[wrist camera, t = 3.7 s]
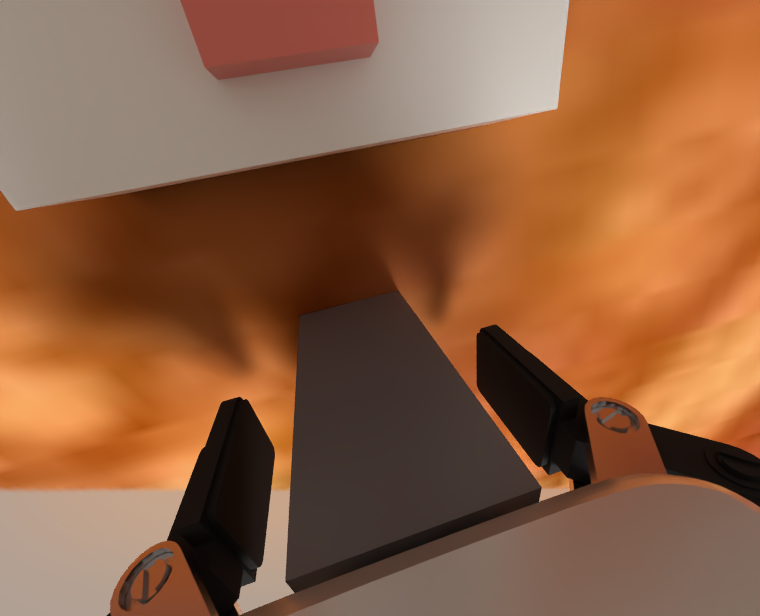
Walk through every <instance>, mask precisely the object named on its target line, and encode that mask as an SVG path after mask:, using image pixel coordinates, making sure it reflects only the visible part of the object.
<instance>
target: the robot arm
mask: <svg viewBox="0 0 760 616" xmlns="http://www.w3.org/2000/svg"><path fill="white" fill-rule="evenodd" d="M477 387H478V389H479V391H480V393H481V394H482V395H483V397H484V398H485V399H486V400H487V402H488V403H489V404H490V406H491V407H492V408H493V410H494V411H495V412H496V414H497V415H498V416H499V418H500V419H501V420H502V421H503V423H504V424H505V425H506V427H507V428H508V429H509V431H510V432H511V433H512V435H513V436H514V437H515V439H516V440H517V441H518V442H519V444H520V445H521V446H522V448H523V449H524V450H525V452H526V453H527V454H528V456H529V457H530V458H531V460H532V461H533V462H534V463H535V465H537V466H538V467H541V466H542V467H543V469H544V470H545V471H546V473H547V474H548V475H551V474H554V473H556V472H559V471H562V472H563V473H564V475H565V476H566V477H567V478H569V485H570V491H569V492H566V493H564V494H561V495H558V496H555V497H552V498H549V499H546V500H543V501H540V502H538V503H535V504H532V505H530V506H527V507H524V508H521V509H519V510H516V511H513V512H510V513H508V514H505V515H502V516H500V517H497V518H494V519H491V520H489V521H486V522H483V523H480V524H478V525H475V526H472V527H470V528H467V529H464V530H461V531H459V532H456V533H453V534H451V535H448V536H445V537H443V538H440V539H437V540H435V541H432V542H429V543H427V544H424V545H421V546H418V547H416V548H413V549H410V550H408V551H405V552H402V553H400V554H397V555H394V556H392V557H389V558H386V559H384V560H381V561H378V562H376V563H373V564H370V565H368V566H365V567H362V568H360V569H357V570H355V571H352V572H349V573H347V574H344V575H341V576H339V577H336V578H333V579H331V580H328V581H326V582H323V583H320V584H318V585H315V586H312V587H310V588H307V589H304V590H302V591H299V592H297V593H294V594H291V595H289V596H286V597H284V598H281V599H279V600H276V601H274V602H271V603H269V604H266V605H264V606H261V607H259V608H256V609H254V610H252V611H249V612H246V613H244V614H243V613H242V611H241V609H240V607H239V605H238V603H237V602H236V601H237V599H238V598H239V594H240V588H241V587H242V586H244V585H247V584H250V583H253V582H255V580H256V571H257V568H258V567H260V566H261V565H262V562H263V556H264V547H265V538H266V529H267V521H268V512H269V502H270V494H271V485H272V476H273V467H274V459H275V451H274V447H273V445H272V443H271V441H270V439H269V437H268V436H267V434H266V432H265V430H264V428H263V427H262V425H261V423H260V421H259V419H258V417H257V416H256V414H255V412H254V410H253V408H252V407H251V405H250V403H249V401H248V400H247V399H245V400H243V399H242V398H241V397H237V398H234V399H230V400H227V401H223V402H222V403H221V405H220V407H219V410H218V413H217V415H216V418H215V421H214V424H213V426H212V429H211V432H210V435H209V437H208V440H207V443H206V446H205V447H204V448H203V449H202V450H201V452H200V454H199V456H198V459H197V462H196V464H195V467H194V470H193V472H192V475H191V478H190V480H189V483H188V486H187V488H186V491H185V494H184V496H183V499H182V502H181V505H180V507H179V510H178V513H177V515H176V518H175V520H174V523H173V526H172V528H171V531H170V534H169V536H168V539H167V541H165V542H160V543H158V544H156V545H154V546H152V547H150V548H149V549H148V550H146V551H145V552H144V553H142V554H141V555H140V556H139V557H138V558H137V559H136V560H135V561H134V562H133V563H132V564H131V565H130V566H129V567H128V569H127V570H126V571H125V573H124V574H123V575H122V577H121V578H120V580H119V582H118V584H117V586H116V588H115V589H114V592H113V596H112V599H111V603H110V613H109V614H108V615H107V616H760V459H759V458H757V457H756V456H754V455H752V454H750V453H748V452H746V451H744V450H742V449H740V448H737V447H734V446H731V445H728V444H724V443H721V442H717V441H713V440H709V439H705V438H701V437H698V436H694V435H690V434H686V433H682V432H678V431H675V430H671V429H667V428H663V427H659V426H655V425H652V424H648V423H647V421H646V420H645V418H644V416H643V415H642V414H641V413H640V412H639V411H638V410H636V409H635V408H633V407H632V406H630V405H629V404H627V403H624V402H622V401H619V400H616V399H612V398H605V397H599V398H593V399H591V400H589V401H588V400H586V399H585V398H584V397H583V396H582V395H580V394H579V393H578V392H577V391H576V390H575V389H573V388H572V387H571V386H570V385H569V384H567V383H566V382H565V381H564V380H563V379H561V378H560V377H559V376H558V375H557V374H555V373H554V372H553V371H552V370H551V369H550V368H548V367H547V366H546V365H545V364H544V363H542V362H541V361H540V360H539V359H538V358H536V357H535V356H534V355H533V354H531V353H530V352H528V351H527V350H526V349H525V348H523V347H522V346H521V345H520V344H519V343H518V342H516V341H515V340H514V339H513V338H512V337H510V336H509V335H508V334H507V333H506V332H505V331H503V330H502V329H501V328H500V327H499V326H497V325H491V326H488V327H484V328H481V329H480V333H477Z"/></svg>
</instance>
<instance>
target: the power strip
mask: <svg viewBox="0 0 760 616" xmlns="http://www.w3.org/2000/svg"><path fill="white" fill-rule="evenodd" d="M568 7H569V0H0V191H1V192H2V193H3V195H4V196H5V197H6V199H7V200H8V201H9V203H10V204H11V205H12V207H13V208H14V209H15V211H19V210H26V209H32V208H38V207H45V206H51V205H58V204H64V203H70V202H77V201H83V200H90V199H96V198H102V197H109V196H115V195H121V194H128V193H133V192H138V191H144V190H149V189H154V188H159V187H165V186H170V185H175V184H180V183H186V182H191V181H196V180H201V179H207V178H212V177H217V176H222V175H228V174H233V173H238V172H243V171H249V170H254V169H259V168H264V167H270V166H275V165H280V164H285V163H291V162H296V161H301V160H306V159H312V158H317V157H322V156H327V155H333V154H338V153H343V152H348V151H354V150H359V149H364V148H369V147H375V146H380V145H385V144H390V143H396V142H401V141H406V140H411V139H417V138H422V137H427V136H432V135H438V134H443V133H448V132H453V131H459V130H464V129H469V128H474V127H479V126H483V125H488V124H492V123H496V122H501V121H505V120H510V119H514V118H518V117H523V116H527V115H532V114H536V113H540V112H545V111H549V110H554V109H557V106H558V97H559V88H560V79H561V70H562V61H563V52H564V43H565V34H566V25H567V16H568Z"/></svg>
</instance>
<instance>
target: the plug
mask: <svg viewBox="0 0 760 616" xmlns="http://www.w3.org/2000/svg"><path fill="white" fill-rule="evenodd" d="M541 488H542V487H541V486H540V485H539V483H538V482H537V480H536V479H535V478H534V476H533V475H532V474H531V472H530V471H529V469H528V468H527V467H526V465H525V464H524V463H523V461H522V460H521V458H520V457H519V456H518V454H517V453H516V452H515V450H514V449H513V447H512V446H511V445H510V443H509V442H508V441H507V439H506V438H505V436H504V435H503V434H502V432H501V431H500V430H499V428H498V427H497V425H496V424H495V423H494V421H493V420H492V419H491V417H490V416H489V414H488V413H487V412H486V410H485V409H484V408H483V406H482V405H481V403H480V402H479V401H478V399H477V398H476V397H475V395H474V394H473V392H472V391H471V390H470V388H469V387H468V386H467V384H466V383H465V381H464V380H463V379H462V377H461V376H460V375H459V373H458V372H457V370H456V369H455V368H454V366H453V365H452V364H451V362H450V361H449V359H448V358H447V357H446V355H445V354H444V353H443V351H442V350H441V348H440V347H439V346H438V344H437V343H436V342H435V340H434V339H433V337H432V336H431V335H430V333H429V332H428V331H427V329H426V328H425V326H424V325H423V324H422V322H421V321H420V320H419V318H418V317H417V315H416V314H415V313H414V311H413V310H412V309H411V307H410V306H409V304H408V303H407V302H406V300H405V299H404V298H403V296H402V295H401V293H400V292H399V291H394V292H390V293H386V294H382V295H378V296H375V297H371V298H367V299H363V300H359V301H355V302H351V303H347V304H343V305H339V306H336V307H332V308H328V309H324V310H320V311H316V312H312V313H308V314H304V315H300V316H299V335H298V354H297V373H296V392H295V411H294V429H293V448H292V467H291V486H290V505H289V525H288V543H287V563H286V583H287V584H288V585H289V586H290V587H291V589H292V590H293V591H294V593H297V592H299V591H302V590H304V589H307V588H310V587H312V586H315V585H318V584H320V583H323V582H326V581H328V580H331V579H333V578H336V577H339V576H341V575H344V574H347V573H349V572H352V571H355V570H357V569H360V568H362V567H365V566H368V565H370V564H373V563H376V562H378V561H381V560H384V559H386V558H389V557H392V556H394V555H397V554H400V553H402V552H405V551H408V550H410V549H413V548H416V547H418V546H421V545H424V544H427V543H429V542H432V541H435V540H437V539H440V538H443V537H445V536H448V535H451V534H453V533H456V532H459V531H461V530H464V529H467V528H470V527H472V526H475V525H478V524H480V523H483V522H486V521H489V520H491V519H494V518H497V517H500V516H502V515H505V514H508V513H510V512H513V511H516V510H519V509H521V508H524V507H527V506H530V505H532V504H535V503H538V502H539V498H540V493H541Z"/></svg>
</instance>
